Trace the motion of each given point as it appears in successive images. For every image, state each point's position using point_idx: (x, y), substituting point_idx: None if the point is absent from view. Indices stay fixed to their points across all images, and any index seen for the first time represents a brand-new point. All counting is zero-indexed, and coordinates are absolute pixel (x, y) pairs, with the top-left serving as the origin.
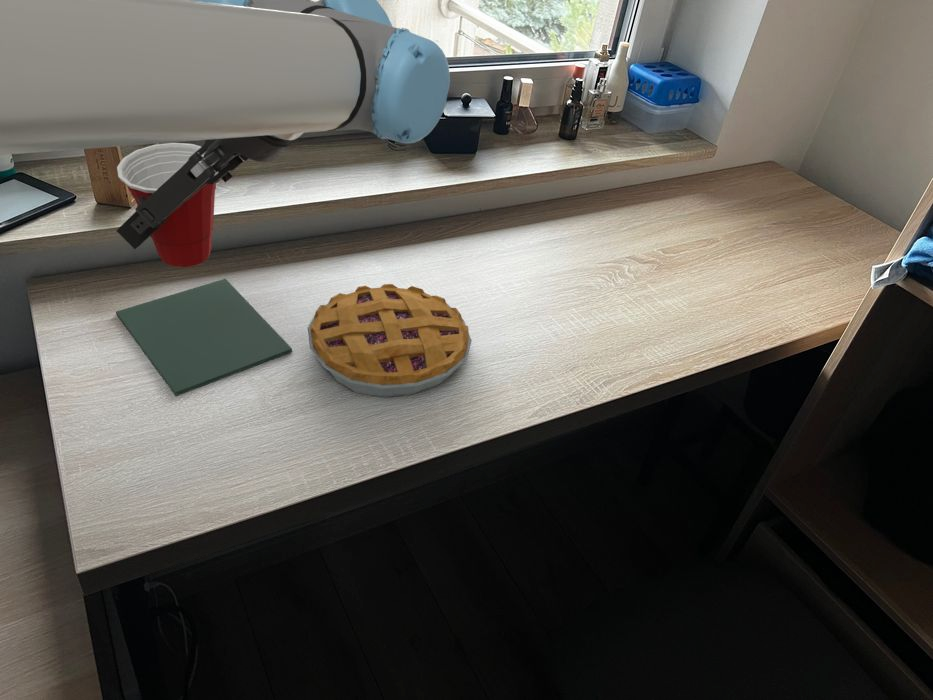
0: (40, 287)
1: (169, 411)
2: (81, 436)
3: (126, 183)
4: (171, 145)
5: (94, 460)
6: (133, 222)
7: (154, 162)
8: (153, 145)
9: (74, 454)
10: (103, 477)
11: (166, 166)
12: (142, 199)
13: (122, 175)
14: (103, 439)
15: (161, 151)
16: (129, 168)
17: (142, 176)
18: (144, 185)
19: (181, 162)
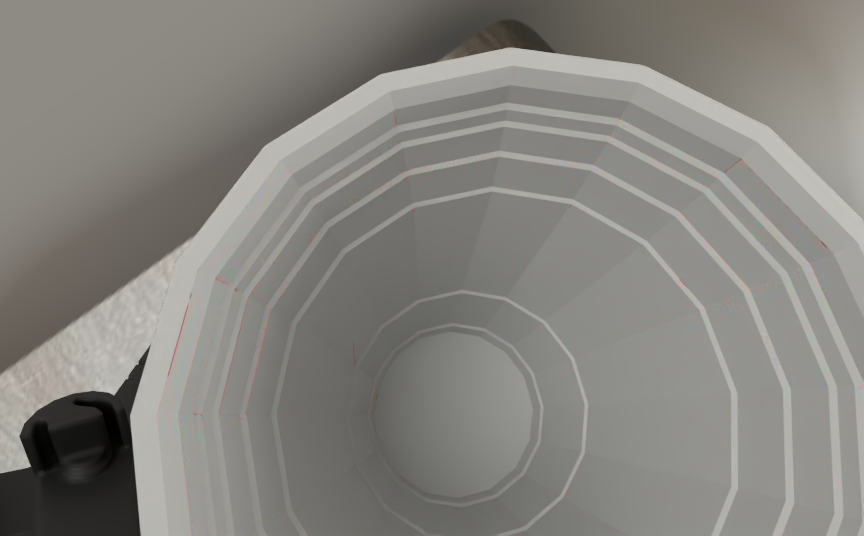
0: (495, 31)
1: None
2: (112, 333)
3: (199, 237)
4: (836, 236)
5: (52, 393)
6: (144, 356)
7: (656, 190)
8: (758, 129)
9: (63, 349)
10: (9, 435)
11: (686, 252)
12: (32, 453)
13: (296, 157)
14: (111, 377)
15: (751, 193)
16: (479, 120)
17: (535, 183)
18: (513, 211)
19: (756, 327)
